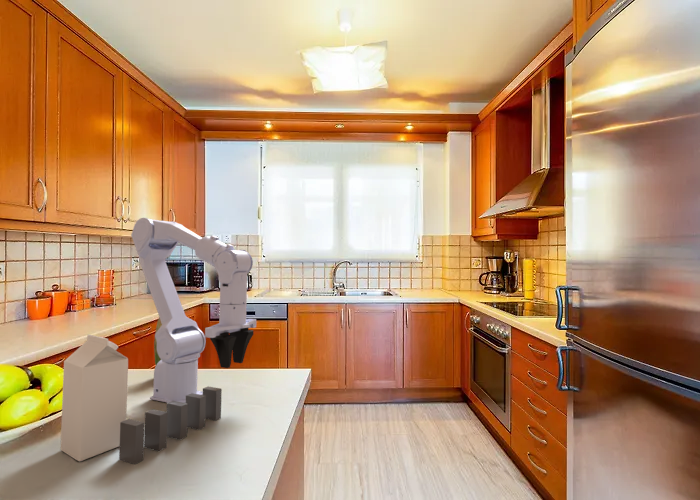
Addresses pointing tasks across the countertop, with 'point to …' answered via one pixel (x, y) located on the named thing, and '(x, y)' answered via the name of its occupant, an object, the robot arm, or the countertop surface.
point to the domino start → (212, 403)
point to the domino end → (131, 441)
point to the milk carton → (93, 398)
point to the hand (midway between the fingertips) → (231, 364)
